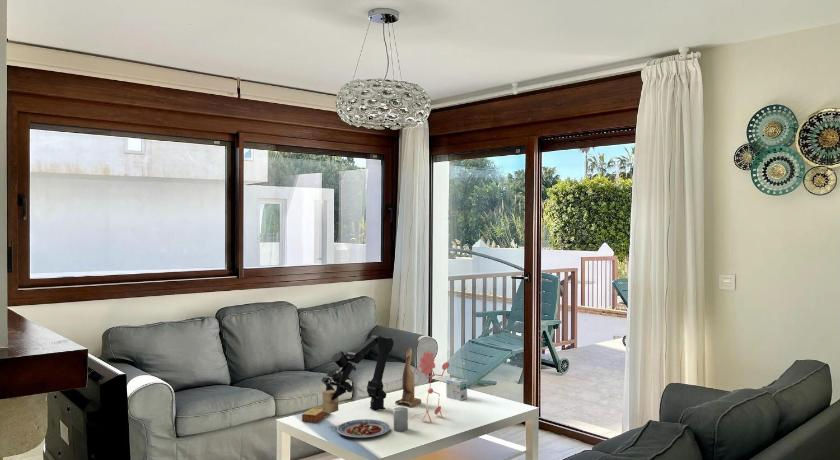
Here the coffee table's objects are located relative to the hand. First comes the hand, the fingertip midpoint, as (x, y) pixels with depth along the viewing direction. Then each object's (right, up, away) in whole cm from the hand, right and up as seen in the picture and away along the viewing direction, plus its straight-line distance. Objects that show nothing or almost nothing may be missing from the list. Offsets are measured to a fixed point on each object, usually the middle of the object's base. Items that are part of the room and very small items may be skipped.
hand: (328, 398), depth 320 cm
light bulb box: (+68, -12, +47) cm, 83 cm away
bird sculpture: (+40, -13, +37) cm, 55 cm away
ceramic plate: (+19, -14, -10) cm, 25 cm away
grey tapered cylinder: (+37, -13, -7) cm, 40 cm away
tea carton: (+1, -7, +1) cm, 7 cm away
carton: (-8, -14, +13) cm, 21 cm away
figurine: (+50, -13, +11) cm, 53 cm away
